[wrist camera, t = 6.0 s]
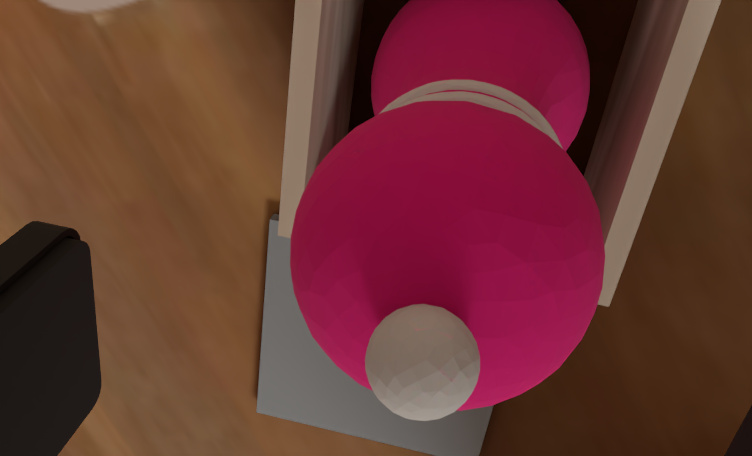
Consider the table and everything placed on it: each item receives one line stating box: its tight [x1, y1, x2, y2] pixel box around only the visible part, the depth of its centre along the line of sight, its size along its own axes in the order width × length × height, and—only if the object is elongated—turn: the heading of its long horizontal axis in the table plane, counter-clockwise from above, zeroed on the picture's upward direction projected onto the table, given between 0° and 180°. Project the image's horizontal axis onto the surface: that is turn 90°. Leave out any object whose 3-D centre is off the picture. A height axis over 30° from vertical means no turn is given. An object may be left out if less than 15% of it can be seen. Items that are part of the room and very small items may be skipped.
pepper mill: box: [290, 0, 605, 421], centre depth 19 cm, size 7×7×20 cm
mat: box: [257, 214, 494, 456], centre depth 35 cm, size 12×12×1 cm
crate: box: [278, 0, 721, 307], centre depth 24 cm, size 12×12×7 cm
